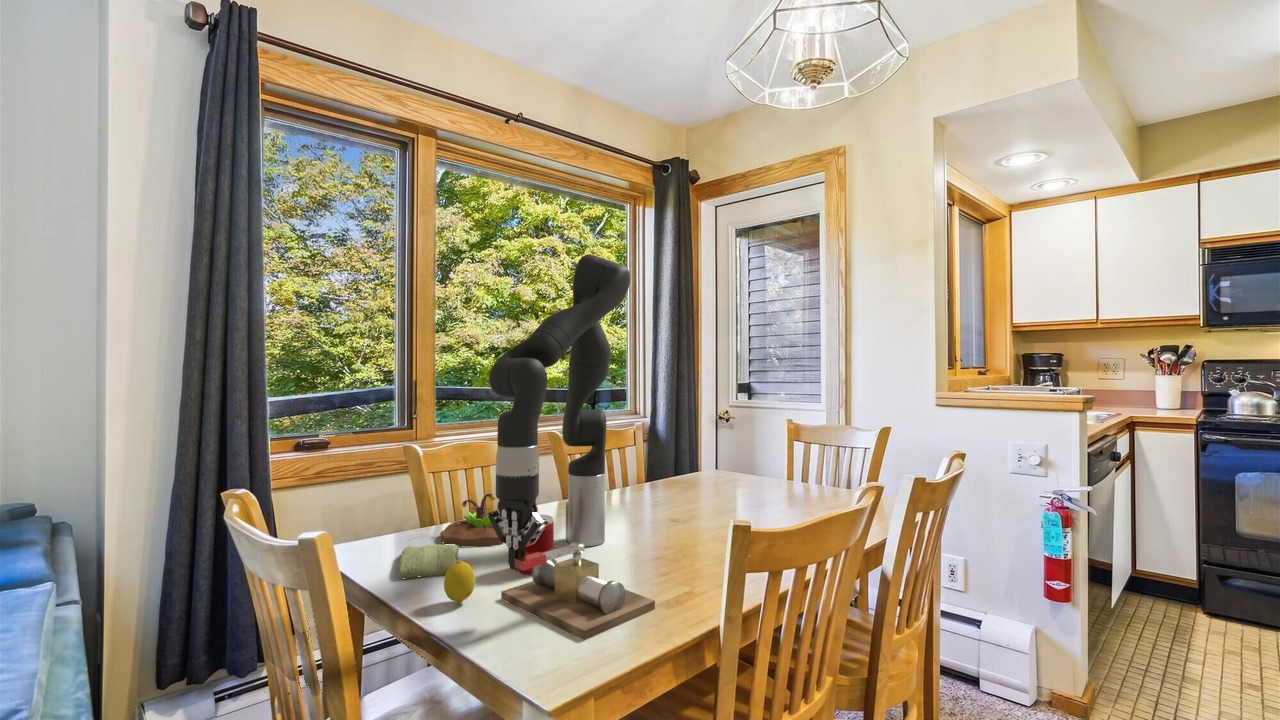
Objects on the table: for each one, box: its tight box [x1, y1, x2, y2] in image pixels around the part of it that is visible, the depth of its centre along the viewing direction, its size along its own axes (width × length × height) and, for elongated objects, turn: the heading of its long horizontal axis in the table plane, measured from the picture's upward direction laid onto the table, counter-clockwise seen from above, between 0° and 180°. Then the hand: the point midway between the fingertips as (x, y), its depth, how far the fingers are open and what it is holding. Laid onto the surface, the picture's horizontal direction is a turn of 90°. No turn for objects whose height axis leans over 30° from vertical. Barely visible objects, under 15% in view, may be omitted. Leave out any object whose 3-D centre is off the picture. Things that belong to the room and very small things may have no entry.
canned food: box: [517, 513, 555, 575], centre depth 129 cm, size 8×8×11 cm
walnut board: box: [500, 580, 656, 641], centre depth 110 cm, size 24×17×2 cm
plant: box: [439, 493, 505, 547], centre depth 154 cm, size 20×20×11 cm
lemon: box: [443, 559, 476, 605], centre depth 110 cm, size 6×6×8 cm
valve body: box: [531, 553, 626, 614], centre depth 110 cm, size 20×6×9 cm, turn 46°
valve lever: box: [515, 542, 585, 571], centre depth 106 cm, size 14×3×2 cm, turn 137°
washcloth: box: [398, 544, 460, 580], centre depth 132 cm, size 13×18×3 cm
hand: (516, 568), depth 104 cm, fingers closed
